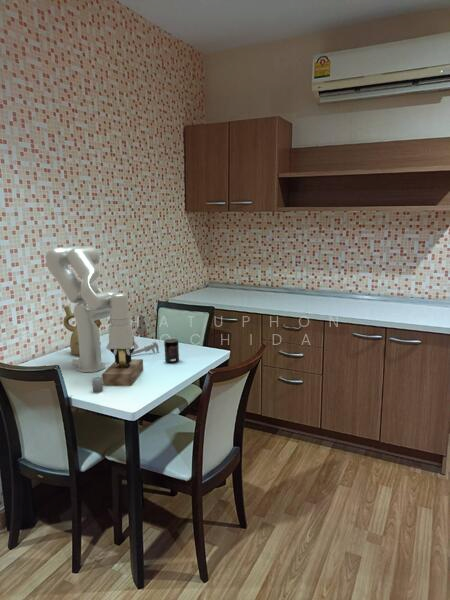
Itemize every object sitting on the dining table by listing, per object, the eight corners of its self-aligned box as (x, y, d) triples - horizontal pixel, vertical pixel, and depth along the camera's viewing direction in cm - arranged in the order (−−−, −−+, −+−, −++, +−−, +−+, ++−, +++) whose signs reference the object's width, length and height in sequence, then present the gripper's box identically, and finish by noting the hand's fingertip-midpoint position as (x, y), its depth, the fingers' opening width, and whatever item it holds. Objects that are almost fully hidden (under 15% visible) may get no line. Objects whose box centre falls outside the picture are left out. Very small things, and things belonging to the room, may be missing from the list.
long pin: (118, 371, 200) (116, 349, 198) (120, 368, 204) (119, 346, 202) (127, 371, 200) (125, 349, 198) (129, 368, 203) (128, 346, 202)
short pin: (91, 392, 185) (90, 380, 184) (94, 389, 189) (93, 377, 188) (101, 392, 185) (100, 380, 184) (104, 389, 189) (103, 377, 188)
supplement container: (176, 359, 227) (175, 338, 225) (181, 362, 221) (180, 341, 219) (163, 360, 224) (162, 340, 223) (167, 364, 218) (166, 343, 216)
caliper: (158, 352, 239) (157, 340, 238) (158, 353, 238) (158, 341, 237) (118, 358, 231) (117, 346, 230) (118, 358, 230) (117, 346, 229)
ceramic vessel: (99, 356, 234) (95, 308, 229) (60, 357, 234) (56, 308, 230) (108, 347, 250) (104, 301, 246) (72, 348, 251) (68, 302, 246)
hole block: (103, 385, 193) (102, 373, 192) (117, 369, 213) (116, 359, 212) (131, 385, 192) (130, 374, 191) (143, 369, 212) (142, 359, 211)
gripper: (98, 324, 195) (101, 366, 198) (137, 323, 194) (140, 365, 197) (104, 320, 202) (107, 360, 206) (142, 319, 201) (144, 360, 204)
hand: (123, 362), depth 201 cm, fingers closed on long pin, 4 cm apart
